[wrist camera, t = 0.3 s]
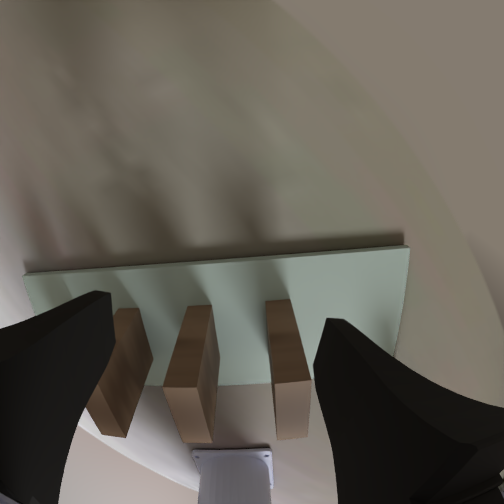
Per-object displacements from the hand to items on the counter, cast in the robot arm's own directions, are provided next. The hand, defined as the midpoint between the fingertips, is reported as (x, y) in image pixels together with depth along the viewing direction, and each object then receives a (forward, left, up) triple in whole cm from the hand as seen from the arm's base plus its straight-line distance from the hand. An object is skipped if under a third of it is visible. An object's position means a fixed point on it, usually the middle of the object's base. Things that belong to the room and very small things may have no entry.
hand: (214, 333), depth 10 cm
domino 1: (-6, +7, -9) cm, 13 cm away
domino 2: (-6, +2, -9) cm, 11 cm away
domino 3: (-6, -3, -9) cm, 11 cm away
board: (-6, +2, -10) cm, 12 cm away
